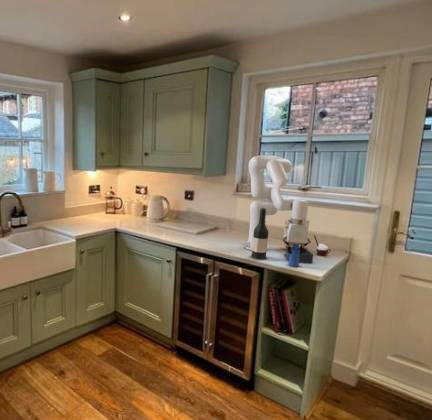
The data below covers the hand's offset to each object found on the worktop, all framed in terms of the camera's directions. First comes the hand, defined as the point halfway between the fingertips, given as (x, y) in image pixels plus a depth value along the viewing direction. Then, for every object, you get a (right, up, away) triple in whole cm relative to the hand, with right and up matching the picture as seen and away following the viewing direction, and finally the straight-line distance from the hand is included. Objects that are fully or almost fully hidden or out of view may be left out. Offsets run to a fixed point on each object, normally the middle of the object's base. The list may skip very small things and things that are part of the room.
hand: (294, 253), depth 200 cm
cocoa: (+28, -4, +23) cm, 36 cm away
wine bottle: (-14, -4, +15) cm, 21 cm away
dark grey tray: (+9, -5, +14) cm, 18 cm away
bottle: (0, -7, +1) cm, 7 cm away
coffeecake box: (+18, -1, +36) cm, 40 cm away
